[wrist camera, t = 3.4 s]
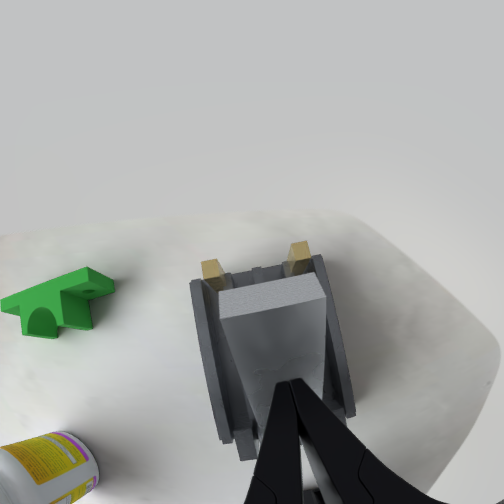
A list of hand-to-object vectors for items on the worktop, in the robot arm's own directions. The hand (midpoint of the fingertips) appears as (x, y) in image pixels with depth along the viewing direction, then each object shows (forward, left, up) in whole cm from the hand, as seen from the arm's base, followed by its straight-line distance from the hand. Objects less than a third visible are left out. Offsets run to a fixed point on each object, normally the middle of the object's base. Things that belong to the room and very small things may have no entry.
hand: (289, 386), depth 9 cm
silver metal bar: (0, 0, -4) cm, 4 cm away
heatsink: (+1, 0, -13) cm, 13 cm away
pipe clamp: (+6, +18, -13) cm, 23 cm away
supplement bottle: (-8, +21, -13) cm, 26 cm away
